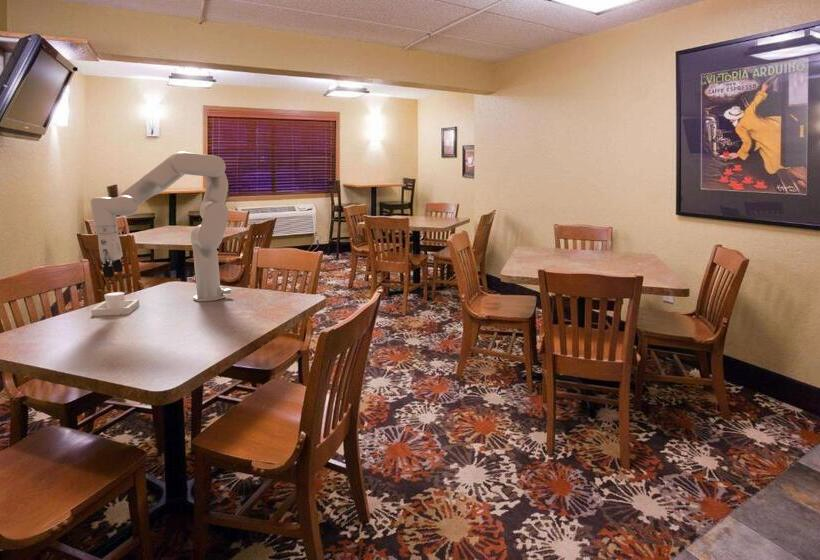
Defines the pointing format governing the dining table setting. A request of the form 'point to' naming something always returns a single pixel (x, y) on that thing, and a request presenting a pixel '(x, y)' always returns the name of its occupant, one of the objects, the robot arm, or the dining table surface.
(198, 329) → the dining table surface
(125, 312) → the box
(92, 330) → the dining table surface
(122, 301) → the shot glass
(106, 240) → the robot arm
